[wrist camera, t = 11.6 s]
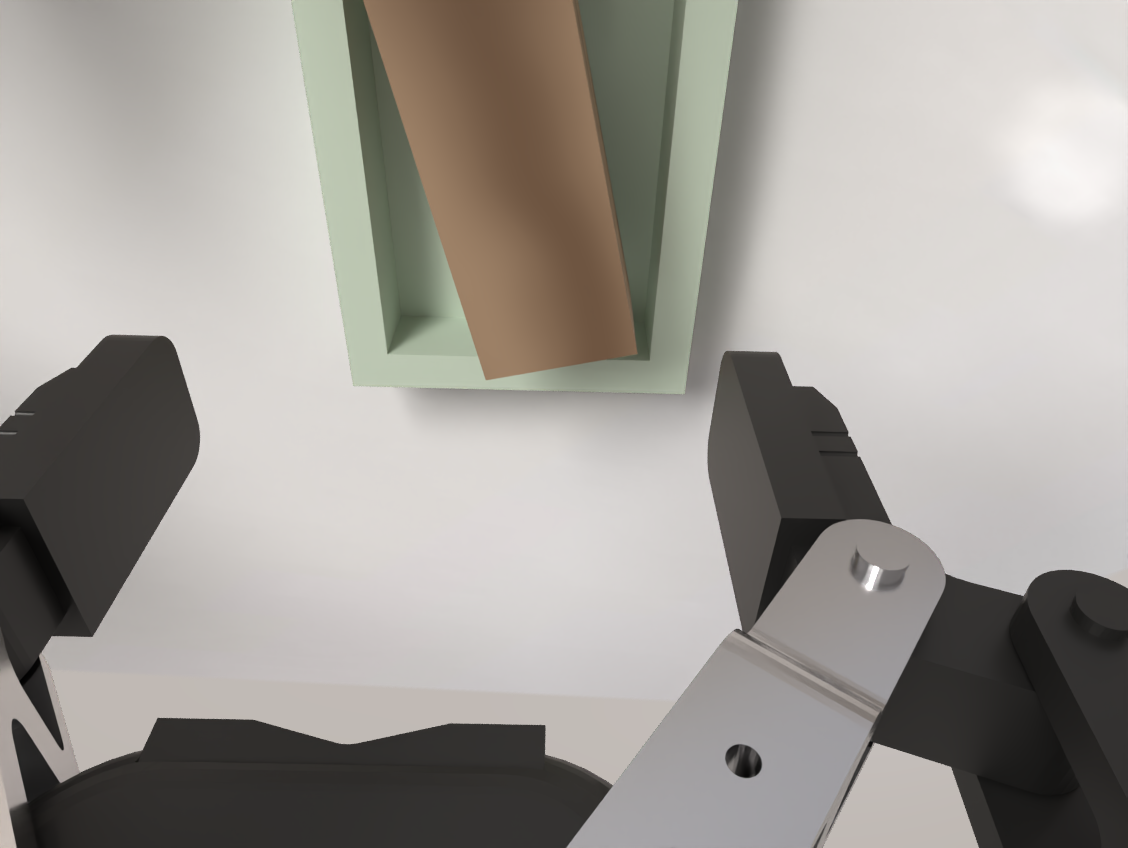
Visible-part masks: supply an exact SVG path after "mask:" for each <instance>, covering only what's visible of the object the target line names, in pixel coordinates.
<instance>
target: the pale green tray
mask: <svg viewBox="0 0 1128 848" xmlns="http://www.w3.org/2000/svg"><path fill="white" fill-rule="evenodd" d="M291 3H292V9H293V15H294V22H295V28H296V34H297V40H298V46H299V53H300V59H301V65H302V71H303V77H304V84H305V90H306V96H307V102H308V108H309V115H310V121H311V127H312V133H313V139H314V146H315V152H316V158H317V164H318V170H319V177H320V183H321V189H322V195H323V201H324V208H325V214H326V220H327V226H328V232H329V239H330V245H331V251H332V257H333V263H334V270H335V276H336V282H337V288H338V294H339V301H340V307H341V313H342V319H343V325H344V332H345V338H346V344H347V350H348V356H349V362H350V369H351V375H352V381H353V386H370V387H411V388H451V389H492V390H532V391H572V392H613V393H653V394H685V388H686V380H687V373H688V365H689V358H690V351H691V343H692V336H693V329H694V321H695V314H696V307H697V299H698V292H699V285H700V277H701V270H702V263H703V255H704V248H705V241H706V233H707V226H708V219H709V211H710V204H711V197H712V189H713V182H714V175H715V167H716V160H717V153H718V145H719V138H720V131H721V123H722V116H723V109H724V101H725V94H726V87H727V79H728V72H729V65H730V57H731V50H732V42H733V35H734V28H735V20H736V13H737V6H738V0H578V3H579V9H580V14H581V20H582V25H583V31H584V36H585V42H586V48H587V53H588V59H589V64H590V70H591V75H592V81H593V86H594V92H595V97H596V103H597V109H598V114H599V120H600V125H601V131H602V136H603V142H604V147H605V153H606V158H607V164H608V169H609V175H610V181H611V186H612V192H613V197H614V203H615V208H616V214H617V219H618V225H619V230H620V236H621V241H622V247H623V253H624V258H625V264H626V269H627V275H628V280H629V287H630V296H631V304H632V312H633V321H634V329H635V337H636V346H637V354H635V355H629V356H624V357H618V358H612V359H606V360H601V361H595V362H589V363H583V364H578V365H572V366H566V367H560V368H555V369H549V370H543V371H537V372H532V373H526V374H520V375H514V376H509V377H503V378H497V379H491V380H485V376H484V373H483V370H482V367H481V364H480V361H479V358H478V355H477V352H476V349H475V345H474V342H473V339H472V336H471V333H470V330H469V327H468V324H467V321H466V318H465V314H464V311H463V308H462V305H461V302H460V299H459V296H458V293H457V290H456V287H455V284H454V280H453V277H452V274H451V271H450V268H449V265H448V262H447V259H446V256H445V253H444V249H443V246H442V243H441V240H440V237H439V234H438V231H437V228H436V225H435V222H434V219H433V215H432V212H431V209H430V206H429V203H428V200H427V197H426V194H425V191H424V188H423V184H422V181H421V178H420V175H419V172H418V169H417V166H416V163H415V160H414V157H413V154H412V150H411V147H410V144H409V141H408V138H407V135H406V132H405V129H404V126H403V123H402V119H401V116H400V113H399V110H398V107H397V104H396V101H395V98H394V95H393V92H392V88H391V85H390V82H389V79H388V76H387V73H386V70H385V67H384V64H383V61H382V58H381V54H380V51H379V48H378V45H377V42H376V39H375V36H374V33H373V30H372V27H371V23H370V20H369V17H368V14H367V11H366V8H365V5H364V2H363V0H291Z"/></svg>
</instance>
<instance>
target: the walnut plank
mask: <svg viewBox="0 0 1128 848" xmlns="http://www.w3.org/2000/svg"><path fill="white" fill-rule="evenodd" d="M363 2H364V5H365V8H366V11H367V14H368V17H369V20H370V23H371V27H372V30H373V33H374V36H375V39H376V42H377V45H378V48H379V51H380V54H381V58H382V61H383V64H384V67H385V70H386V73H387V76H388V79H389V82H390V85H391V88H392V92H393V95H394V98H395V101H396V104H397V107H398V110H399V113H400V116H401V119H402V123H403V126H404V129H405V132H406V135H407V138H408V141H409V144H410V147H411V150H412V154H413V157H414V160H415V163H416V166H417V169H418V172H419V175H420V178H421V181H422V184H423V188H424V191H425V194H426V197H427V200H428V203H429V206H430V209H431V212H432V215H433V219H434V222H435V225H436V228H437V231H438V234H439V237H440V240H441V243H442V246H443V249H444V253H445V256H446V259H447V262H448V265H449V268H450V271H451V274H452V277H453V280H454V284H455V287H456V290H457V293H458V296H459V299H460V302H461V305H462V308H463V311H464V314H465V318H466V321H467V324H468V327H469V330H470V333H471V336H472V339H473V342H474V345H475V349H476V352H477V355H478V358H479V361H480V364H481V367H482V370H483V373H484V376H485V380H491V379H497V378H503V377H509V376H514V375H520V374H526V373H532V372H537V371H543V370H549V369H555V368H560V367H566V366H572V365H578V364H583V363H589V362H595V361H601V360H606V359H612V358H618V357H624V356H629V355H635V354H637V346H636V337H635V329H634V321H633V312H632V304H631V296H630V287H629V280H628V275H627V269H626V264H625V258H624V253H623V247H622V241H621V236H620V230H619V225H618V219H617V214H616V208H615V203H614V197H613V192H612V186H611V181H610V175H609V169H608V164H607V158H606V153H605V147H604V142H603V136H602V131H601V125H600V120H599V114H598V109H597V103H596V97H595V92H594V86H593V81H592V75H591V70H590V64H589V59H588V53H587V48H586V42H585V36H584V31H583V25H582V20H581V14H580V9H579V3H578V0H363Z"/></svg>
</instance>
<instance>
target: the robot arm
mask: <svg viewBox="0 0 1128 848" xmlns="http://www.w3.org/2000/svg"><path fill="white" fill-rule="evenodd" d="M199 445H200V430H199V424H198V420H197V417H196V414H195V411H194V407H193V404H192V401H191V398H190V394H189V391H188V388H187V384H186V381H185V378H184V375H183V371H182V368H181V365H180V361H179V358H178V355H177V352H176V349H175V347H174V345H173V343H172V342H171V341H170V340H169V339H168V338H167V337H165V336H142V335H109V336H107V337H105V338H104V339H103V340H102V341H101V342H100V343H99V344H98V345H97V346H96V347H95V348H94V349H93V350H92V352H91V353H90V354H89V355H88V356H87V357H86V358H85V359H84V360H83V361H82V362H81V363H80V365H79V366H78V367H77V368H70V369H69V370H67V371H65V372H64V373H62V374H60V375H58V376H57V377H55V378H53V379H52V380H50V381H48V382H46V383H45V384H43V385H41V386H40V387H38V388H37V389H36V390H35V391H34V392H33V393H32V394H31V395H30V396H29V397H28V398H27V399H26V400H25V401H24V402H23V403H22V404H21V405H20V406H19V407H18V409H17V410H16V411H15V416H10V417H9V418H8V419H7V420H6V421H5V422H4V423H3V424H2V425H1V426H0V848H823V846H824V844H825V841H826V840H827V838H828V836H829V834H830V832H831V830H832V828H833V826H834V824H835V822H836V820H837V817H838V815H839V814H840V812H841V810H842V808H843V805H844V804H845V801H846V800H847V797H848V796H849V794H850V791H851V790H852V788H853V785H854V784H855V781H856V780H857V778H858V776H859V773H860V772H861V770H862V768H863V765H864V764H865V761H866V760H867V758H868V755H869V753H870V751H871V749H872V747H873V745H874V743H878V744H881V745H884V746H887V747H890V748H893V749H897V750H900V751H903V752H906V753H909V754H912V755H915V756H919V757H922V758H925V759H928V760H931V761H935V762H938V763H941V764H944V765H947V766H950V767H951V768H952V770H953V774H954V776H955V779H956V782H957V785H958V788H959V791H960V794H961V797H962V799H963V802H964V805H965V808H966V811H967V814H968V817H969V819H970V823H971V826H972V828H973V831H974V834H975V837H976V840H977V843H978V846H979V848H1128V588H1126V587H1124V586H1122V585H1120V584H1118V583H1116V582H1114V581H1111V580H1109V579H1107V578H1104V577H1101V576H1098V575H1095V574H1091V573H1087V572H1082V571H1074V570H1056V571H1050V572H1047V573H1044V574H1042V575H1040V576H1038V577H1037V578H1035V579H1034V580H1033V582H1032V583H1031V584H1030V586H1029V588H1028V589H1027V591H1026V593H1025V595H1024V596H1021V595H1017V594H1013V593H1009V592H1005V591H1001V590H997V589H994V588H990V587H986V586H982V585H978V584H974V583H970V582H967V581H964V580H960V579H957V578H955V577H952V576H950V575H947V574H945V572H944V568H943V566H942V564H941V562H940V560H939V559H938V557H937V556H936V554H935V553H934V552H933V551H932V550H931V549H930V548H929V547H928V546H927V545H926V544H925V543H924V542H923V541H921V540H920V539H919V538H917V537H916V536H914V535H912V534H911V533H909V532H907V531H905V530H903V529H901V528H899V527H896V526H893V525H892V524H891V522H890V520H889V518H888V516H887V513H886V511H885V509H884V507H883V505H882V503H881V501H880V498H879V496H878V494H877V492H876V490H875V488H874V486H873V483H872V481H871V479H870V477H869V475H868V473H867V471H866V469H865V466H864V464H863V462H862V460H861V458H860V457H858V456H857V452H858V451H857V449H856V447H855V445H854V443H853V441H852V439H851V437H848V430H847V428H846V426H845V424H844V422H843V419H842V417H841V415H840V413H839V411H838V409H837V407H835V406H834V405H833V404H832V403H831V402H830V401H829V400H827V399H826V398H825V397H824V396H823V395H822V394H821V393H819V392H818V391H817V390H816V389H815V388H814V387H799V386H792V384H791V381H790V379H789V376H788V374H787V371H786V369H785V366H784V364H783V362H782V359H781V357H780V355H779V354H778V353H777V352H750V351H726V352H725V353H724V355H723V358H722V362H721V367H720V372H719V378H718V384H717V390H716V396H715V402H714V408H713V414H712V420H711V426H710V432H709V440H708V473H709V479H710V484H711V488H712V493H713V498H714V502H715V507H716V511H717V516H718V520H719V525H720V530H721V534H722V539H723V543H724V548H725V552H726V557H727V562H728V566H729V571H730V575H731V580H732V584H733V589H734V594H735V598H736V603H737V607H738V612H739V616H740V621H741V626H742V630H743V631H741V630H740V629H736V630H734V631H732V632H731V633H730V634H729V635H728V636H727V637H726V638H725V639H724V640H723V642H722V643H721V644H720V645H719V647H718V648H717V649H716V651H715V652H714V653H713V655H712V656H711V657H710V658H709V660H708V661H707V662H706V664H705V665H704V666H703V668H702V669H701V670H700V672H699V673H698V674H697V676H696V677H695V678H694V680H693V681H692V682H691V684H690V685H689V686H688V688H687V689H686V690H685V692H684V693H683V694H682V695H681V697H680V698H679V699H678V701H677V702H676V703H675V705H674V706H673V707H672V709H671V710H670V711H669V713H668V714H667V715H666V717H665V718H664V719H663V721H662V722H661V723H660V725H659V726H658V727H657V729H656V730H655V731H654V732H653V734H652V735H651V736H650V738H649V739H648V741H647V742H646V743H645V744H644V746H643V747H642V748H641V750H640V751H639V752H638V754H637V755H636V756H635V758H634V759H633V760H632V762H631V763H630V764H629V766H628V767H627V768H626V769H625V771H624V772H623V773H622V775H621V776H620V778H619V779H618V780H617V781H616V783H615V784H614V785H611V784H610V783H609V782H607V781H606V780H604V779H602V778H600V777H598V776H597V775H595V774H593V773H592V772H590V771H588V770H586V769H584V768H582V767H579V766H577V765H575V764H572V763H570V762H567V761H564V760H561V759H558V758H555V757H551V756H548V755H545V725H503V724H502V725H501V724H447V725H441V726H437V727H432V728H428V729H423V730H418V731H413V732H409V733H405V734H399V735H395V736H390V737H386V738H381V739H376V740H372V741H367V742H362V743H358V744H338V743H334V742H331V741H327V740H323V739H320V738H316V737H313V736H309V735H305V734H302V733H298V732H295V731H291V730H288V729H284V728H281V727H277V726H273V725H270V724H266V723H263V722H259V721H256V720H236V719H183V718H182V719H181V718H179V719H178V718H158V719H157V721H156V723H155V725H154V727H153V729H152V732H151V734H150V736H149V738H148V740H147V742H146V744H145V747H144V749H143V750H142V751H138V752H134V753H131V754H127V755H124V756H121V757H118V758H115V759H112V760H109V761H106V762H104V763H102V764H99V765H97V766H94V767H92V768H90V769H88V770H85V771H83V772H81V773H80V772H79V769H78V765H77V762H76V758H75V755H74V751H73V748H72V744H71V741H70V737H69V734H68V730H67V727H66V723H65V720H64V716H63V713H62V709H61V706H60V702H59V699H58V695H57V692H56V689H55V685H54V681H53V678H52V674H51V671H50V667H49V665H48V663H47V661H46V659H45V657H44V656H43V654H42V650H43V649H44V647H45V646H46V644H47V643H48V641H49V640H50V638H51V636H78V637H93V635H94V633H95V632H96V630H97V628H98V627H99V625H100V623H101V621H102V620H103V618H104V616H105V615H106V613H107V611H108V610H109V608H110V606H111V605H112V603H113V601H114V600H115V598H116V596H117V594H118V593H119V591H120V589H121V588H122V586H123V584H124V583H125V581H126V579H127V578H128V576H129V574H130V573H131V571H132V569H133V567H134V566H135V564H136V562H137V561H138V559H139V557H140V556H141V554H142V552H143V551H144V549H145V547H146V546H147V544H148V542H149V540H150V539H151V537H152V535H153V534H154V532H155V530H156V529H157V527H158V525H159V524H160V522H161V520H162V519H163V517H164V515H165V514H166V512H167V510H168V508H169V507H170V505H171V503H172V502H173V500H174V498H175V497H176V495H177V493H178V492H179V490H180V488H181V487H182V485H183V483H184V481H185V480H186V478H187V476H188V475H189V473H190V471H191V470H192V468H193V466H194V464H195V462H196V459H197V456H198V452H199Z"/></svg>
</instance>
